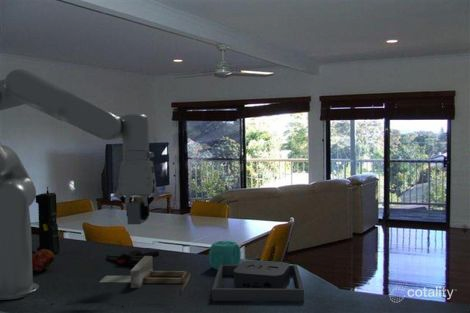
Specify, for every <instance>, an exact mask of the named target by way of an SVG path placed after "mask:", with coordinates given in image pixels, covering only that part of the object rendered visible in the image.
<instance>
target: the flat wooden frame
mask: <svg viewBox="0 0 470 313" xmlns="http://www.w3.org/2000/svg"><path fill="white" fill-rule="evenodd" d="M153 261H154V260H153V258H152V256H144V257H143V258H142V259H141V260H140V261H139V262H138V264H137V265H136V266H133V268H132V269H130V275H105V276H104V277H103V278H101V279H100V281H98V283H130V288H131V289H140V288H141V287H142V286H143V284H183V285H182V287H181V288H180V291H179V294H182V293H183V292H184V290H185V288H186V285H187V283H188V281H189V280H190V277H191V272H188V270H178V271H177V270H154V268H153V267H154V266H153Z"/></svg>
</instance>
